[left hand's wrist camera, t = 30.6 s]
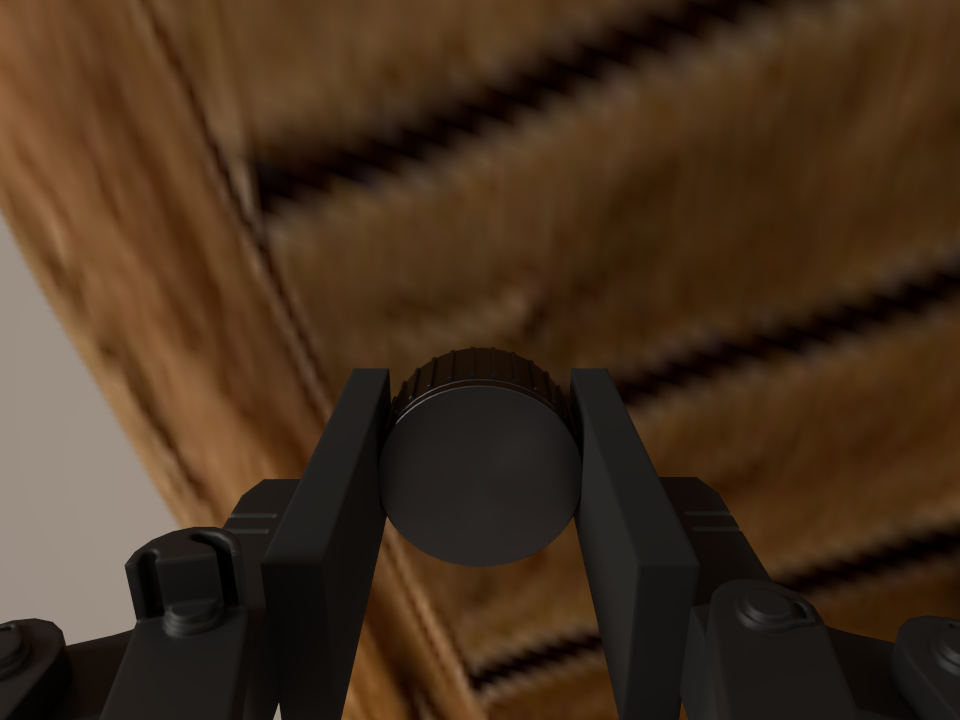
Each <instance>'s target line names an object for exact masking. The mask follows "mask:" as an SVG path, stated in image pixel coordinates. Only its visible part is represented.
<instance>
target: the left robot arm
mask: <svg viewBox="0 0 960 720" xmlns="http://www.w3.org/2000/svg"><path fill="white" fill-rule="evenodd" d="M390 407H391V395H390V376H389V369H353V371H352V373H351V375H350V377H349V379H348V381H347V383H346V385H345V388H344V390H343V392H342V394H341V396H340V398H339V400H338V402H337V404H336V406H335V409H334V411H333V413H332V415H331V417H330V419H329V421H328V423H327V425H326V427H325V430H324V432H323V434H322V436H321V438H320V440H319V442H318V444H317V446H316V448H315V451H314V453H313V455H312V457H311V459H310V461H309V463H308V465H307V467H306V469H305V472H304V474H303V476H302V478H301V479H264V480H262V481H261V482H260V483H258V484H257V485H256V486H254V487H253V488H252V489H250V490H249V491H248V492H246V493H245V494H244V495H242V497H241V498H240V500H239V502H238V503H237V505H236V507H235V508H234V510H233V512H232V513H231V518H228V520H227V522H226V523H225V525H224V527H223V528H222V529H220V528H216V527H192V528H187V529H182V530H177V531H173V532H170V533H168V534H165V535H163V536H161V537H158V538H156V539H153V540H151V541H150V542H148V543H147V544H146V545H144V546H143V547H141V548H140V549H138V550H137V551H135V552H134V554H133V555H132V556H131V558H130V559H129V560H128V561H127V563H126V564H125V570H126V574H127V579H128V583H129V588H130V592H131V597H132V601H133V606H134V610H135V615H136V619H137V623H136V625H135V628H134V629H132V630H130V631H126V632H123V633H119V634H116V635H113V636H108V637H104V638H99V639H95V640H90V641H86V642H82V643H77V644H73V645H68V646H66V643H65V640H64V636H63V632H62V630H61V629H59V628H58V627H57V626H56V625H55V624H54V623H53V622H50V621H45V620H41V619H36V618H33V619H23V620H13V621H9V622H6V623H3V624H0V720H273V718H274V715H275V712H276V709H277V706H278V703H279V705H280V712H281V719H282V720H341V717H342V713H343V708H344V704H345V699H346V695H347V691H348V686H349V682H350V677H351V673H352V668H353V664H354V660H355V655H356V651H357V646H358V642H359V637H360V633H361V628H362V624H363V620H364V615H365V611H366V606H367V602H368V597H369V593H370V589H371V584H372V580H373V575H374V571H375V566H376V562H377V557H378V553H379V549H380V544H381V540H382V535H383V531H384V526H385V522H386V518H387V515H386V513H385V511H384V508H383V506H382V504H381V501H380V497H379V484H378V457H379V453H380V445H381V442H382V438H383V435H384V427H385V424H386V421H387V417H388V414H389V411H390ZM570 407H571V411H572V414H573V417H574V421H575V424H576V428H577V431H578V434H579V436H578V437H576V438H577V442H578V445H579V449H580V452H581V456H582V461H583V475H582V491H581V498H580V502H579V505H578V507H577V509H576V511H575V513H574V515H573V516H574V520H575V524H576V529H577V533H578V538H579V542H580V547H581V551H582V556H583V560H584V564H585V569H586V573H587V578H588V582H589V587H590V591H591V595H592V600H593V604H594V609H595V613H596V618H597V622H598V627H599V631H600V635H601V640H602V644H603V649H604V653H605V658H606V662H607V666H608V671H609V675H610V680H611V684H612V689H613V693H614V697H615V702H616V706H617V711H618V715H619V720H679V715H680V708H681V701H682V702H683V705H684V708H685V711H686V714H687V717H688V719H689V720H960V621H958V620H955V619H952V618H946V617H936V616H922V617H917V618H912V619H909V620H907V621H906V622H905V623H904V624H903V625H902V626H901V627H900V628H899V631H898V634H897V638H896V642H895V643H892V642H887V641H883V640H878V639H874V638H869V637H865V636H860V635H856V634H852V633H847V632H844V631H841V630H837V629H834V628H830V627H828V626H826V625H825V624H824V622H823V620H822V618H821V617H820V615H819V614H818V612H817V611H816V609H815V608H814V606H813V605H811V604H810V603H809V602H808V601H806V600H805V599H804V598H803V597H801V596H800V595H799V594H798V593H796V592H794V591H791V590H789V589H787V588H785V587H783V586H781V585H779V584H776V583H773V582H772V580H771V579H770V577H769V575H768V574H767V572H766V570H765V569H764V567H763V565H762V564H761V562H760V561H759V559H758V557H757V556H756V554H755V552H754V551H753V549H752V547H751V546H750V544H749V543H748V541H747V539H746V538H745V536H744V534H743V533H742V531H739V526H738V525H737V523H736V521H735V520H734V518H733V516H730V511H729V510H728V508H727V506H726V505H725V503H724V502H723V500H722V498H721V497H720V495H719V493H717V492H716V491H715V490H713V489H712V488H711V487H709V486H708V485H707V484H705V483H704V482H702V481H701V480H700V479H698V478H697V477H658V475H657V473H656V471H655V468H654V466H653V464H652V462H651V460H650V458H649V456H648V454H647V452H646V450H645V447H644V445H643V443H642V441H641V439H640V437H639V435H638V433H637V431H636V429H635V426H634V424H633V422H632V420H631V418H630V416H629V414H628V412H627V410H626V408H625V405H624V403H623V401H622V399H621V397H620V395H619V393H618V391H617V389H616V387H615V385H614V382H613V380H612V378H611V376H610V374H609V372H608V370H607V369H571V384H570Z"/></svg>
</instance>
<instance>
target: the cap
mask: <svg viewBox="0 0 960 720" xmlns="http://www.w3.org/2000/svg"><path fill="white" fill-rule="evenodd" d="M578 436H579V434H578V431H577V428H576V424H575V421H574V417H573V414H572V411H571V407H570V404H569V402H568V401H567V402H566V401H565V399H564V396H563V393H562V389H561V387H560V385H558V386H556V384H555V383H554V382H553V380H552V379H551V378H550V376H549V373H548V372H547V371H545V372H544V371H543V370H541V369H540V368H539V367H538V366H536V365H535V364H534V362H533V361H532V360H529V361H528V360H527V359H524V358H522V357H520V356H518V355H516V354H515V352H511V353H509V352H506V351H502V350H497V349H495V348H494V347H491V349H488V348H475V347H471V349H464V350H458V351H455V350H452V351H451V352H450V353H448V354H445V355H442V356H440V357H438V358H436V357H434V358H432V361H430V362H429V363H427V364H426V365H424V366H423V367H421V368H419V367H418V368H417V369H416V370H415V373H414V374H413V375H412V376H411V377H410V379H409V380H408V381H407V382H406V381H404V382H403V383H402V387H401V390H400V392H399V394H398V396H397V397H395V396H394V398H393V400H392V404H391V407H390V411H389V414H388V417H387V421H386V424H385V427H384V435H383V438H382V442H381V445H380V453H379V457H378V484H379V497H380V501H381V504H382V506H383V508H384V511H385V513H386V515H387V516H388V518H389V520H390V521H391V523H392V524H393V526H394V527H395V528H396V529H397V530H398V532H399V533H400V534H401V535H402V536H403V537H404V538H405V539H406V540H407V541H409V542H410V543H411V544H412V545H414V546H415V547H417V548H418V549H419V550H421V551H423V552H425V553H427V554H428V555H430V556H433V557H435V558H437V559H440V560H442V561H446V562H449V563H453V564H458V565H464V566H475V567H485V566H496V565H503V564H507V563H511V562H515V561H518V560H520V559H523V558H525V557H528V556H530V555H532V554H534V553H536V552H537V551H539V550H541V549H542V548H544V547H545V546H547V545H548V544H549V543H551V542H552V541H553V540H554V539H555V538H556V537H557V536H558V535H559V534H560V533H561V532H562V531H563V530H564V528H565V527H566V526H567V525H568V523H569V522H570V520H571V519H572V517H573V515H574V513H575V511H576V509H577V507H578V505H579V502H580V498H581V491H582V475H583V461H582V456H581V452H580V449H579V445H578V442H577V438H576V437H578Z"/></svg>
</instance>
